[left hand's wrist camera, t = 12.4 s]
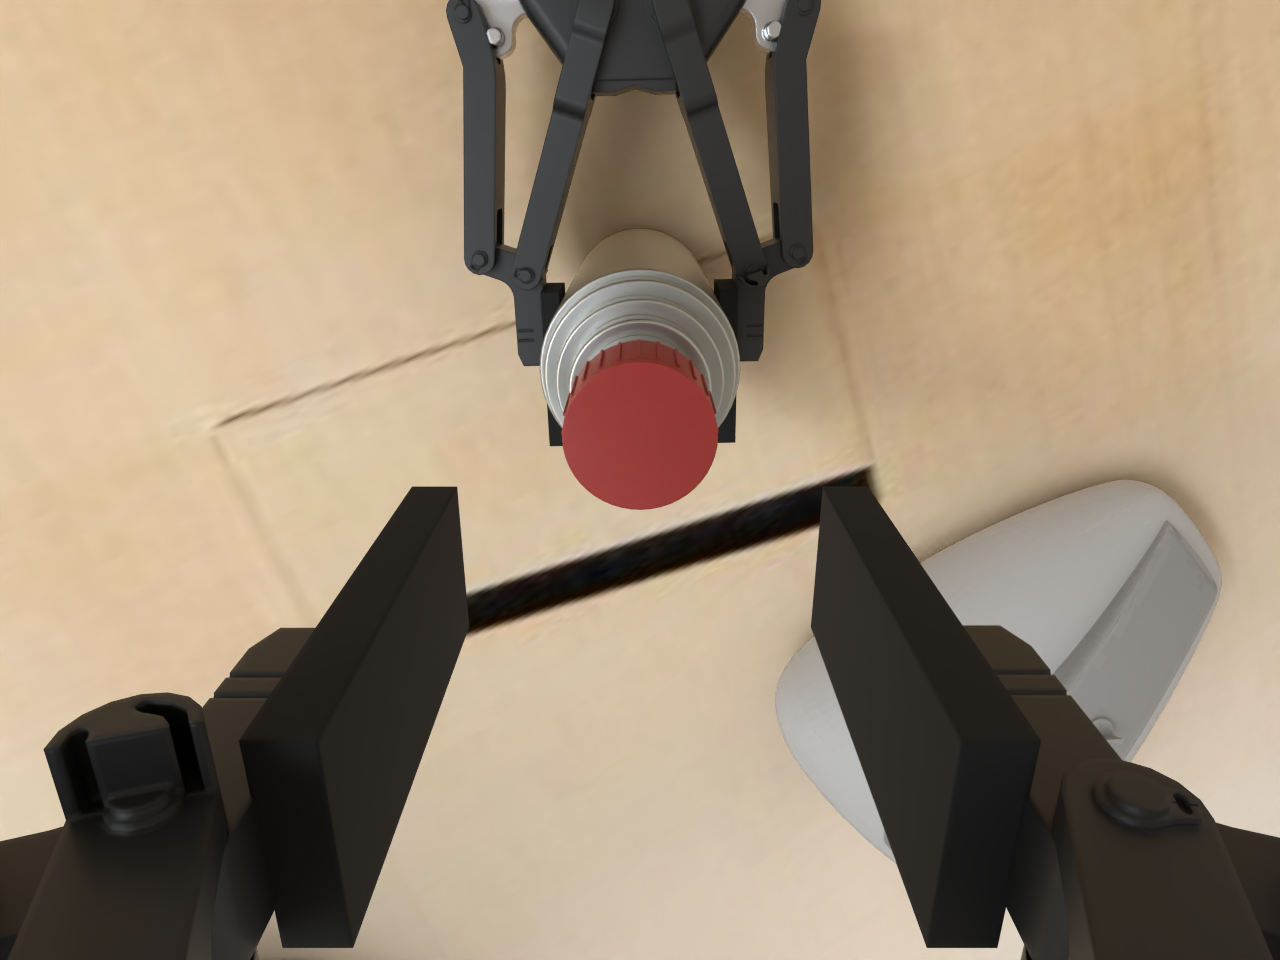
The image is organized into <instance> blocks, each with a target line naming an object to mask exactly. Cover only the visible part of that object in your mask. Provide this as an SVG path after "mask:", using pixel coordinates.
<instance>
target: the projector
mask: <svg viewBox="0 0 1280 960" xmlns="http://www.w3.org/2000/svg"><path fill="white" fill-rule="evenodd" d="M920 564H921V565H922V567H923V568H924V570H925V571H926V572H927V574H928V575H929V577H930V578H931V580H932V581H933V583H934V584H935V586H936V587H937V589H938V590H939V591H940V593H941V594H942V596H943V597H944V599H945V600H946V602H947V603H948V605H949V606H950V608H951V609H952V610H953V612H954V613H955V615H956V616H957V618H958V619H959V621H960V622H961V624H962V625H1000V626H1002V627H1003V628H1005V629H1006V630H1008V631H1009V632H1011V633H1012V634H1014V635H1016V636H1017V637H1019V638H1020V639H1022V640H1023V641H1025V642H1026V643H1028V644H1029V645H1031V646H1032V647H1033V648H1034V650H1035V651H1036V652H1037V654H1038V655H1039V656H1040V657H1041V659H1042V660H1043V661H1044V662H1045V664H1046V665H1047V666H1048V667H1049V669H1050V670H1051V675H1055V676H1056V677H1057V679H1058V680H1059V681H1060V682H1061V684H1062V685H1063V686H1064V687H1065V689H1066V690H1067V695H1071V696H1072V698H1073V699H1074V700H1075V701H1076V703H1077V704H1078V705H1079V706H1080V708H1081V709H1082V710H1083V711H1084V713H1085V714H1086V715H1087V716H1088V718H1089V719H1090V720H1091V721H1092V723H1093V724H1094V725H1095V726H1096V728H1097V729H1098V730H1099V731H1100V733H1101V734H1102V735H1103V737H1104V738H1105V739H1106V740H1107V742H1108V743H1109V744H1110V745H1111V747H1112V748H1113V749H1114V750H1115V752H1116V753H1117V754H1118V755H1119V757H1120V758H1121V759H1122V760H1124V761H1127V762H1131V761H1132V759H1133V757H1134V756H1135V754H1136V753H1137V751H1138V750H1139V748H1140V747H1141V745H1142V744H1143V742H1144V741H1145V739H1146V737H1147V736H1148V734H1149V732H1150V731H1151V729H1152V727H1153V726H1154V724H1155V722H1156V721H1157V719H1158V717H1159V716H1160V714H1161V712H1162V710H1163V709H1164V707H1165V705H1166V704H1167V702H1168V700H1169V698H1170V697H1171V695H1172V693H1173V691H1174V689H1175V687H1176V685H1177V684H1178V682H1179V680H1180V678H1181V676H1182V674H1183V673H1184V671H1185V669H1186V667H1187V665H1188V663H1189V661H1190V660H1191V658H1192V656H1193V654H1194V652H1195V649H1196V647H1197V645H1198V643H1199V641H1200V639H1201V637H1202V635H1203V633H1204V631H1205V629H1206V627H1207V625H1208V622H1209V620H1210V618H1211V615H1212V613H1213V611H1214V608H1215V606H1216V603H1217V601H1218V598H1219V594H1220V590H1221V583H1222V579H1221V572H1220V568H1219V565H1218V563H1217V560H1216V558H1215V556H1214V554H1213V552H1212V550H1211V548H1210V547H1209V545H1208V544H1207V542H1206V540H1205V539H1204V537H1203V536H1202V534H1201V533H1200V531H1199V530H1198V529H1197V527H1196V526H1195V524H1194V523H1193V522H1192V520H1191V519H1190V518H1189V516H1188V515H1187V514H1186V513H1185V511H1184V510H1183V509H1182V508H1181V507H1180V506H1179V505H1178V504H1177V503H1176V501H1175V500H1173V499H1172V498H1171V497H1170V496H1169V495H1168V494H1166V493H1165V492H1164V491H1162V490H1160V489H1159V488H1157V487H1155V486H1152V485H1150V484H1147V483H1144V482H1140V481H1135V480H1116V481H1110V482H1106V483H1102V484H1098V485H1095V486H1091V487H1088V488H1085V489H1082V490H1079V491H1076V492H1073V493H1070V494H1067V495H1064V496H1061V497H1059V498H1056V499H1053V500H1051V501H1048V502H1046V503H1043V504H1040V505H1038V506H1035V507H1033V508H1030V509H1028V510H1025V511H1023V512H1021V513H1018V514H1016V515H1014V516H1012V517H1009V518H1007V519H1005V520H1002V521H1000V522H998V523H995V524H993V525H991V526H989V527H987V528H985V529H983V530H981V531H979V532H976V533H974V534H972V535H970V536H968V537H966V538H964V539H962V540H961V541H959V542H957V543H955V544H953V545H951V546H949V547H947V548H945V549H943V550H942V551H940V552H938V553H936V554H935V555H933V556H931V557H929V558H927V559H926V560H924V561H922V562H920ZM775 706H776V713H777V718H778V722H779V725H780V728H781V731H782V734H783V736H784V739H785V741H786V743H787V745H788V748H789V750H790V751H791V753H792V755H793V757H794V758H795V760H796V761H797V763H798V764H799V766H800V767H801V769H802V770H803V771H804V773H805V774H806V775H807V776H808V778H809V779H810V780H811V782H812V783H813V784H814V785H815V786H816V788H817V789H818V790H819V791H820V792H821V793H822V795H823V796H824V797H825V798H826V799H827V800H828V801H829V803H830V804H831V805H832V806H833V807H834V808H835V809H836V810H837V811H838V812H839V813H840V815H841V816H843V817H844V818H845V819H846V820H847V821H848V822H849V823H850V824H851V825H852V826H853V827H854V828H855V829H856V830H857V831H858V832H859V833H860V834H861V835H862V836H863V837H864V838H865V839H866V840H867V841H868V842H869V843H871V844H872V845H873V846H874V847H876V848H877V849H878V850H879V851H880V852H882V853H883V854H884V855H886V856H887V857H888V858H889V859H891V860H892V861H893V862H895V863H896V861H895V858H894V855H893V852H892V850H891V847H890V844H889V841H888V839H887V836H886V833H885V830H884V828H883V825H882V822H881V819H880V816H879V814H878V811H877V808H876V805H875V803H874V800H873V797H872V794H871V792H870V789H869V786H868V783H867V780H866V778H865V775H864V772H863V769H862V767H861V764H860V761H859V758H858V756H857V753H856V750H855V747H854V744H853V742H852V739H851V736H850V733H849V731H848V728H847V725H846V722H845V720H844V717H843V714H842V711H841V709H840V706H839V703H838V700H837V697H836V695H835V692H834V689H833V686H832V684H831V681H830V678H829V675H828V673H827V670H826V667H825V664H824V661H823V659H822V656H821V653H820V650H819V648H818V645H817V642H816V639H815V637H814V636H813V637H812V638H811V639H810V640H809V641H808V642H806V643H805V645H804V646H803V647H802V648H801V649H800V650H799V651H798V652H797V653H796V654H795V655H794V656H793V658H792V659H791V660H790V661H789V663H788V664H787V666H786V667H785V669H784V671H783V673H782V675H781V676H780V679H779V682H778V685H777V689H776V696H775ZM896 864H897V863H896Z"/></svg>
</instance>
